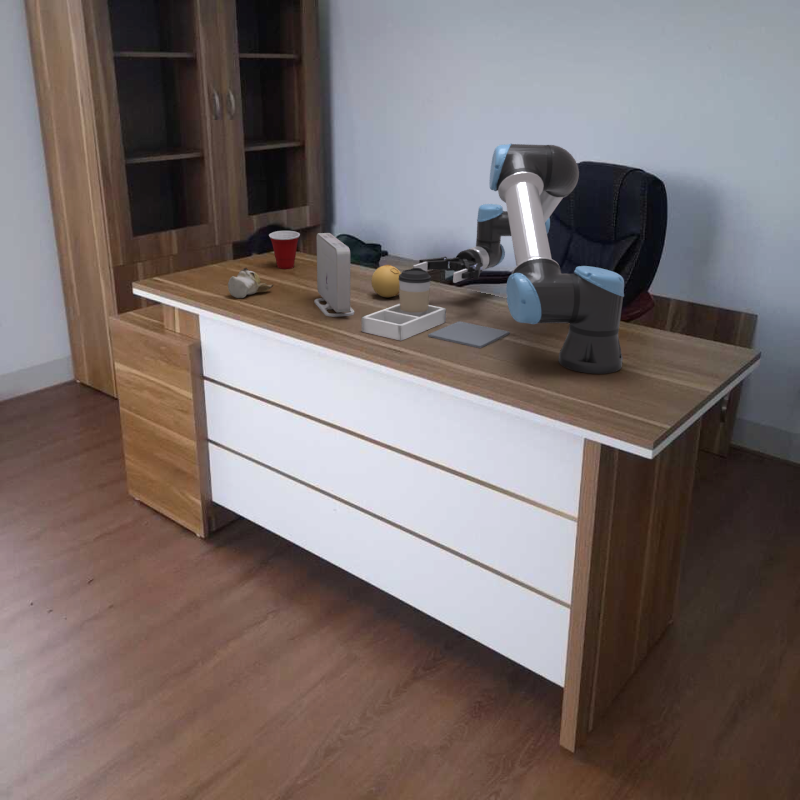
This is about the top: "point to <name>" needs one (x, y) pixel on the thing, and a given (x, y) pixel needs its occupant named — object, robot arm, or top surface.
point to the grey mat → (469, 334)
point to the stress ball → (386, 281)
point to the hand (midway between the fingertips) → (433, 274)
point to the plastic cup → (284, 248)
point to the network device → (333, 275)
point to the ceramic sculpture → (246, 284)
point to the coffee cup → (414, 291)
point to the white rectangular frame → (401, 322)
